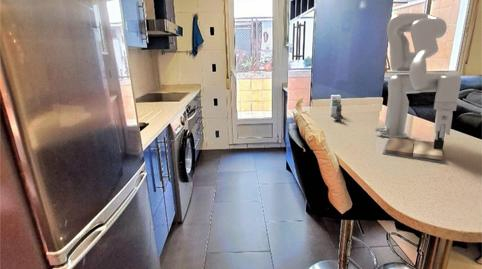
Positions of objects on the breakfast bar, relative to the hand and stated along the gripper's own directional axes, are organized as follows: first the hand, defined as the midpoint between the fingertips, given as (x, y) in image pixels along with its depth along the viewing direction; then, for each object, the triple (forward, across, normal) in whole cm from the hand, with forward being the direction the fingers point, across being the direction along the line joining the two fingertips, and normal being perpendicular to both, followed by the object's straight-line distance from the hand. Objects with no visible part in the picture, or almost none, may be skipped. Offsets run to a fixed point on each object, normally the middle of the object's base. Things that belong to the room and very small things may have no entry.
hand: (437, 148), depth 119 cm
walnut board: (+2, +1, +14) cm, 14 cm away
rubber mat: (+3, +1, +9) cm, 9 cm away
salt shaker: (+1, +41, +51) cm, 66 cm away
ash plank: (+2, +1, +4) cm, 4 cm away
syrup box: (+1, +56, +57) cm, 80 cm away
